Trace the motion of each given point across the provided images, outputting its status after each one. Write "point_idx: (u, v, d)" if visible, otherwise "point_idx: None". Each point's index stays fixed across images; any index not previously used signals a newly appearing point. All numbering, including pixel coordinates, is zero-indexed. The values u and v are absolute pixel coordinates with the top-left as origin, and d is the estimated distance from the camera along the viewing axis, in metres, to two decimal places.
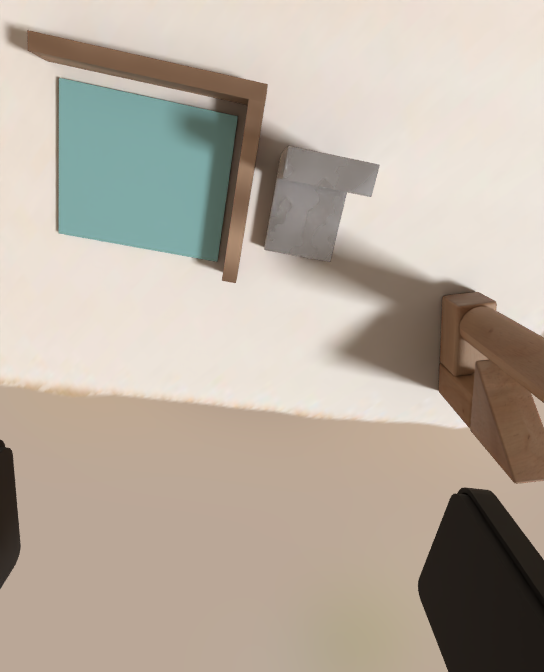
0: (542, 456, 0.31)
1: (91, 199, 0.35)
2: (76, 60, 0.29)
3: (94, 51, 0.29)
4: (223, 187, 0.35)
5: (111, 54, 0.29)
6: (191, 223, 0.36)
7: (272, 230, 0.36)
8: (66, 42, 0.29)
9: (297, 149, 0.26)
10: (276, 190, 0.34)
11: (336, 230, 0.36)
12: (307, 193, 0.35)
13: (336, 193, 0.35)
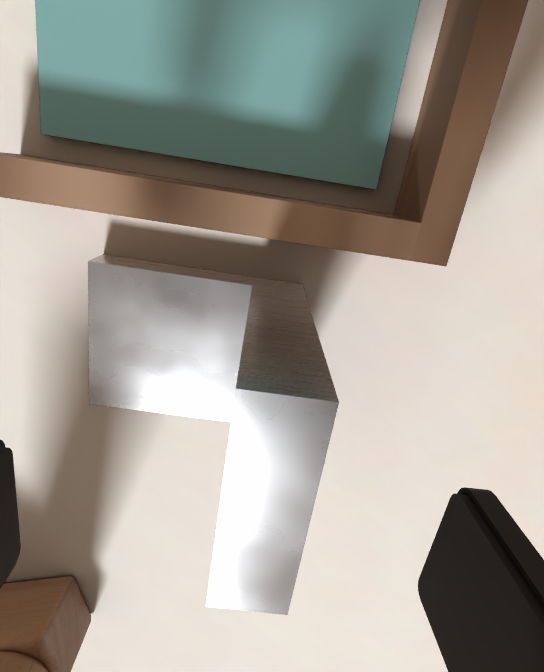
0: None
1: None
2: None
3: None
4: (225, 153, 0.15)
5: None
6: (128, 59, 0.13)
7: (137, 278, 0.15)
8: None
9: (326, 427, 0.08)
10: (226, 284, 0.15)
11: (156, 410, 0.17)
12: (225, 350, 0.16)
13: (229, 404, 0.17)
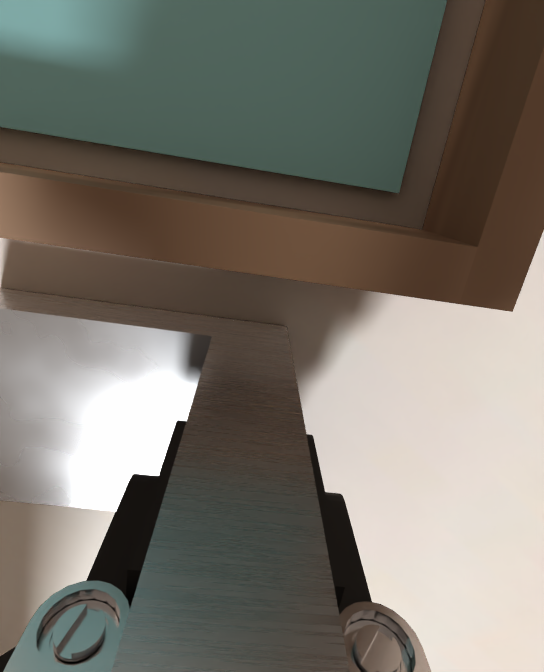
0: None
1: None
2: None
3: None
4: (176, 139, 0.10)
5: None
6: None
7: (39, 327, 0.10)
8: None
9: None
10: (173, 335, 0.10)
11: (84, 505, 0.12)
12: None
13: None
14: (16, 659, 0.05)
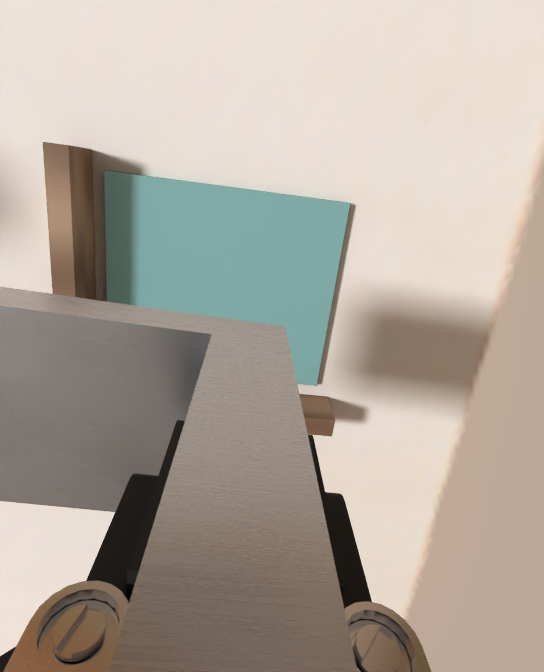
0: None
1: (295, 255, 0.25)
2: None
3: None
4: (112, 283, 0.25)
5: None
6: (151, 230, 0.24)
7: (40, 325, 0.10)
8: None
9: None
10: (173, 333, 0.10)
11: (81, 505, 0.12)
12: (175, 423, 0.11)
13: None
14: (17, 657, 0.05)
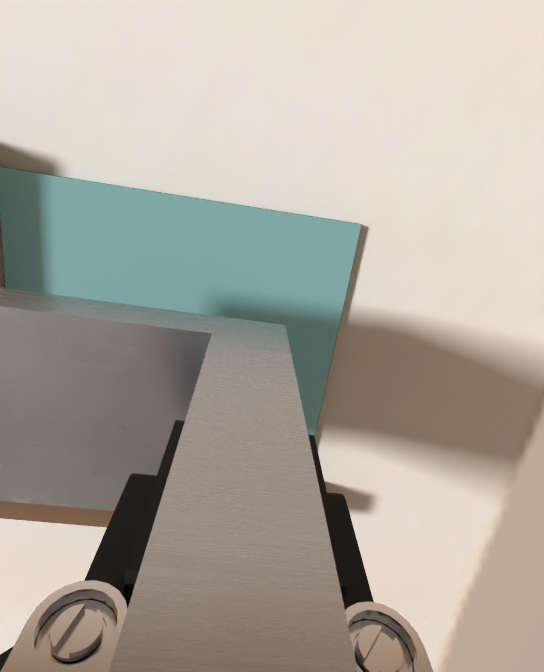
0: None
1: (281, 296, 0.17)
2: None
3: None
4: None
5: None
6: (72, 256, 0.16)
7: (40, 325, 0.10)
8: None
9: None
10: (173, 333, 0.10)
11: (83, 505, 0.12)
12: None
13: None
14: (14, 659, 0.05)
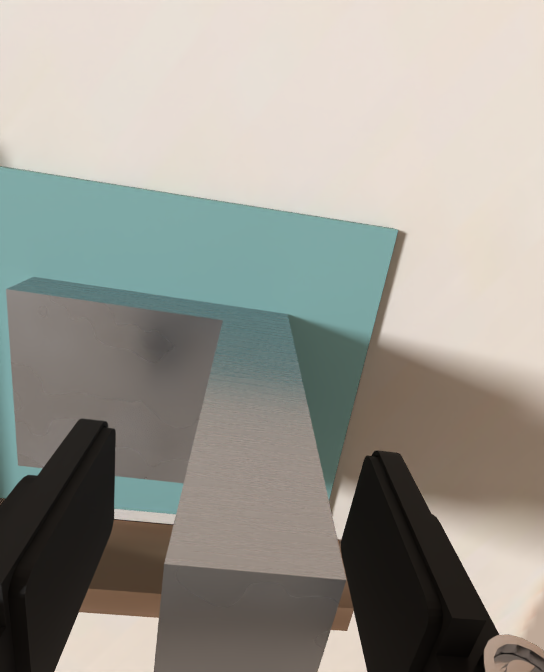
0: None
1: (292, 321, 0.13)
2: None
3: None
4: None
5: None
6: (19, 271, 0.13)
7: (72, 311, 0.12)
8: None
9: (325, 615, 0.05)
10: (189, 319, 0.12)
11: None
12: (189, 399, 0.13)
13: None
14: None
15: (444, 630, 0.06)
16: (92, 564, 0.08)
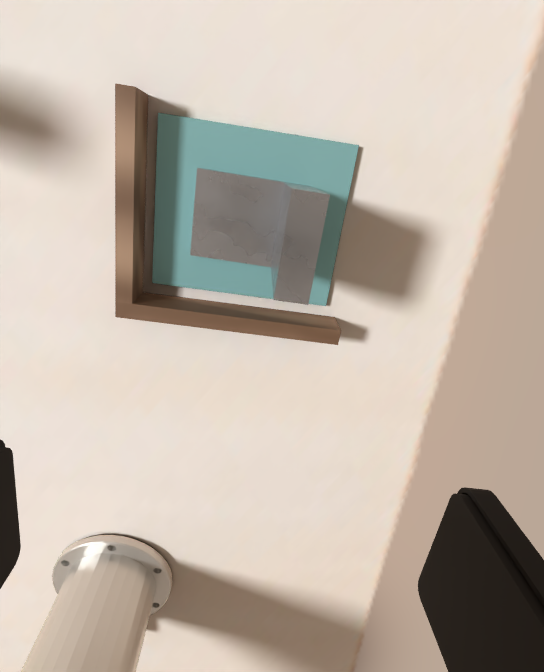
0: None
1: None
2: (298, 325, 0.31)
3: (280, 333, 0.31)
4: (159, 210, 0.30)
5: (265, 331, 0.31)
6: (194, 165, 0.29)
7: (222, 178, 0.28)
8: (305, 338, 0.32)
9: (325, 206, 0.21)
10: (270, 181, 0.28)
11: (228, 259, 0.30)
12: (268, 221, 0.29)
13: (269, 255, 0.30)
14: None
15: None
16: None
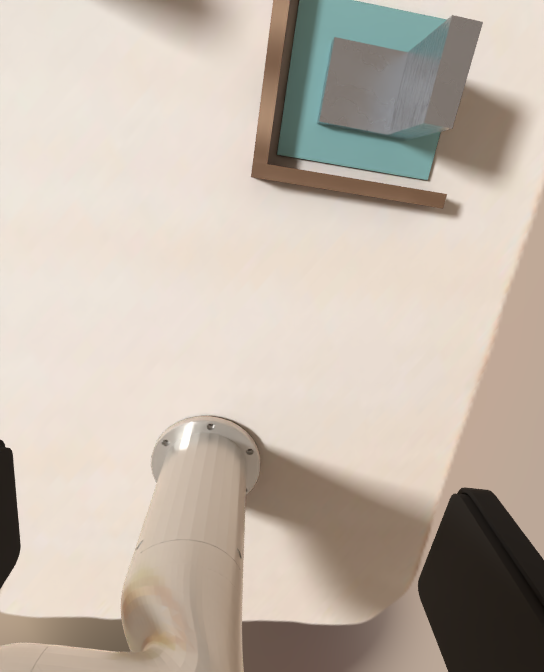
0: None
1: None
2: (409, 188, 0.35)
3: (393, 195, 0.35)
4: (291, 83, 0.34)
5: (380, 194, 0.35)
6: (326, 40, 0.33)
7: (355, 47, 0.32)
8: (415, 201, 0.36)
9: (478, 32, 0.26)
10: (395, 51, 0.33)
11: (351, 126, 0.34)
12: (390, 89, 0.34)
13: (387, 122, 0.34)
14: None
15: None
16: None
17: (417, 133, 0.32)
